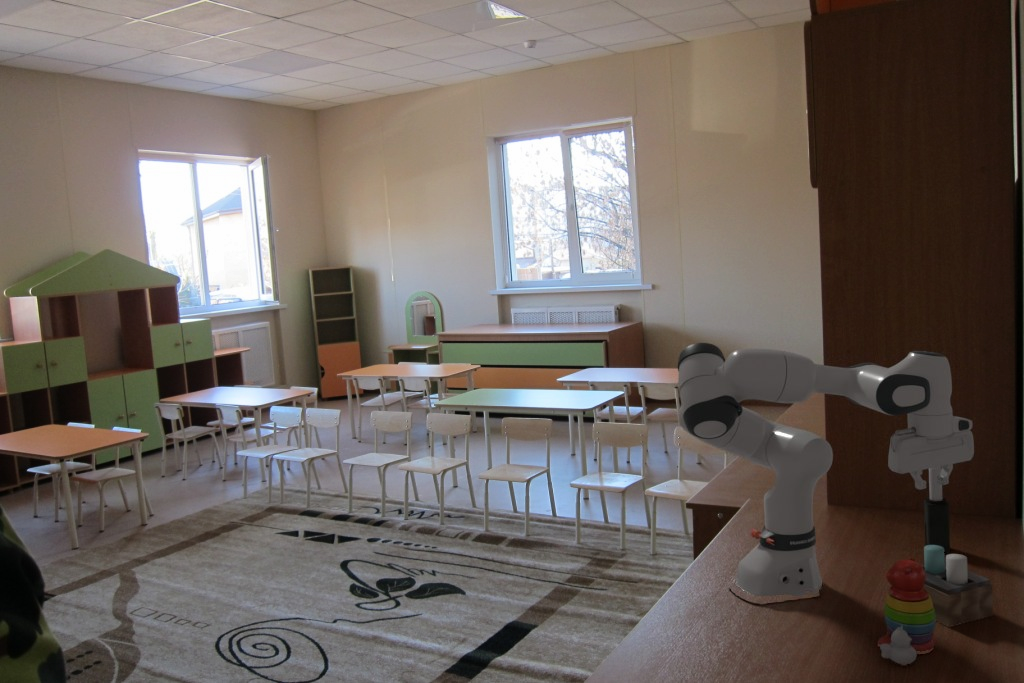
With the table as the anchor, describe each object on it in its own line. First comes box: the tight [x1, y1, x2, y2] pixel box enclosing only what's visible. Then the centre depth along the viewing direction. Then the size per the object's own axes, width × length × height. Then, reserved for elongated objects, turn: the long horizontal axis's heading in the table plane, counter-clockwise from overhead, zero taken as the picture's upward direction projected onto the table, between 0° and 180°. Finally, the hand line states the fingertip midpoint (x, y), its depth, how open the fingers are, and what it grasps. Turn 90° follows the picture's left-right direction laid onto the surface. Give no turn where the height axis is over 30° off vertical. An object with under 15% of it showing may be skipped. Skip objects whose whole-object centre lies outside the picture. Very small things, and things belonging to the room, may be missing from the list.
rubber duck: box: [879, 626, 918, 664], centre depth 167 cm, size 5×7×8 cm
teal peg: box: [923, 545, 946, 576], centre depth 189 cm, size 4×4×8 cm
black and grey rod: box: [923, 466, 951, 553], centre depth 219 cm, size 5×5×25 cm
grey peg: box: [945, 553, 968, 586], centre depth 183 cm, size 4×4×8 cm
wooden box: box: [921, 560, 994, 626], centre depth 187 cm, size 12×13×8 cm
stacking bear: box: [877, 556, 936, 652], centre depth 173 cm, size 11×10×18 cm
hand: (931, 486), depth 187 cm, fingers open, 5 cm apart
